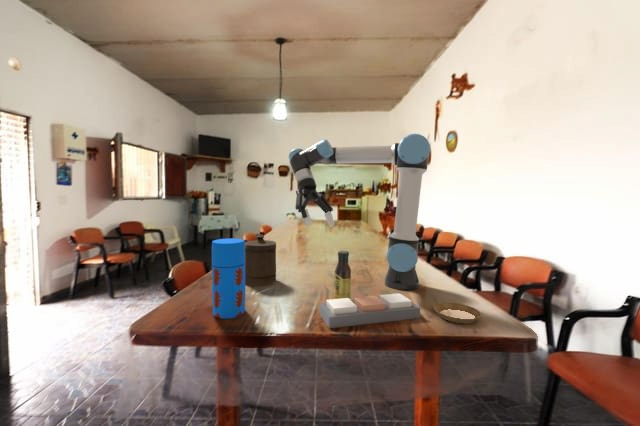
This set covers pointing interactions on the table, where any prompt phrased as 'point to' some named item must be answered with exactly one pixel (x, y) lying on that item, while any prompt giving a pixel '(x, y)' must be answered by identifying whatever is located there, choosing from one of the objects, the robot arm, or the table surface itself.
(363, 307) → the key mid
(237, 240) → the thermos
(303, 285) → the table surface
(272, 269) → the wooden container
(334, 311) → the key
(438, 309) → the tan shallow bowl
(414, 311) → the key pad
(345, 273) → the sauce bottle
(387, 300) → the key
